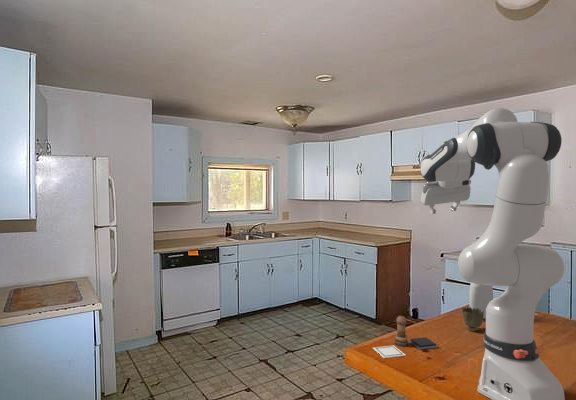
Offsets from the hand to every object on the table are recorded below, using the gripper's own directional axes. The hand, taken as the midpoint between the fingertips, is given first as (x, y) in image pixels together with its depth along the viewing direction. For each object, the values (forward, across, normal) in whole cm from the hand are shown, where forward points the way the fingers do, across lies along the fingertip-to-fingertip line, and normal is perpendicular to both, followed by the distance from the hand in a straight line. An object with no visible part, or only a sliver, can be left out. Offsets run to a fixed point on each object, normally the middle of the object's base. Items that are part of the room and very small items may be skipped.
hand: (443, 211), depth 154 cm
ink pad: (+32, -26, -35) cm, 54 cm away
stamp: (+33, -33, -32) cm, 56 cm away
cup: (+38, 0, -28) cm, 47 cm away
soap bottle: (+44, +14, -17) cm, 49 cm away
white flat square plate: (+30, -40, -37) cm, 62 cm away
